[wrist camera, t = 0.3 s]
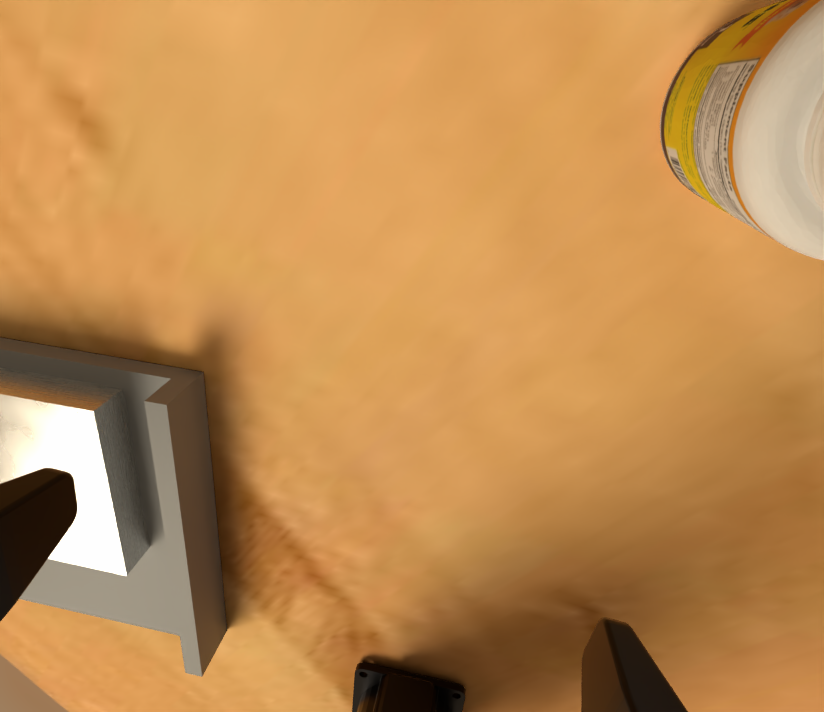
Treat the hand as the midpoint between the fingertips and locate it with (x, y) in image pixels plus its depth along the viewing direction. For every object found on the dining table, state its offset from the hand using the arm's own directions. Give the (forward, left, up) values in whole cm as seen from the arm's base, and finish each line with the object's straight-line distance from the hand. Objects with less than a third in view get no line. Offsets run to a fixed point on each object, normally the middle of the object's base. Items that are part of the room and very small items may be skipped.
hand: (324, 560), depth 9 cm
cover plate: (-12, +18, -13) cm, 25 cm away
